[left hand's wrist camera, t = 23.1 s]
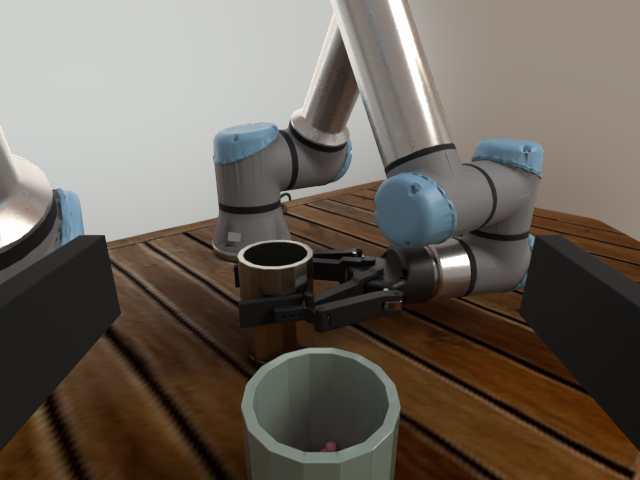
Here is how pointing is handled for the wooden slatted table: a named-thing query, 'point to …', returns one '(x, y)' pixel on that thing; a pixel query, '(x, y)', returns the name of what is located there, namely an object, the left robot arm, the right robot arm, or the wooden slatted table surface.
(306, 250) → the tumbler
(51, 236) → the left robot arm
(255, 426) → the pot
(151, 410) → the wooden slatted table surface
